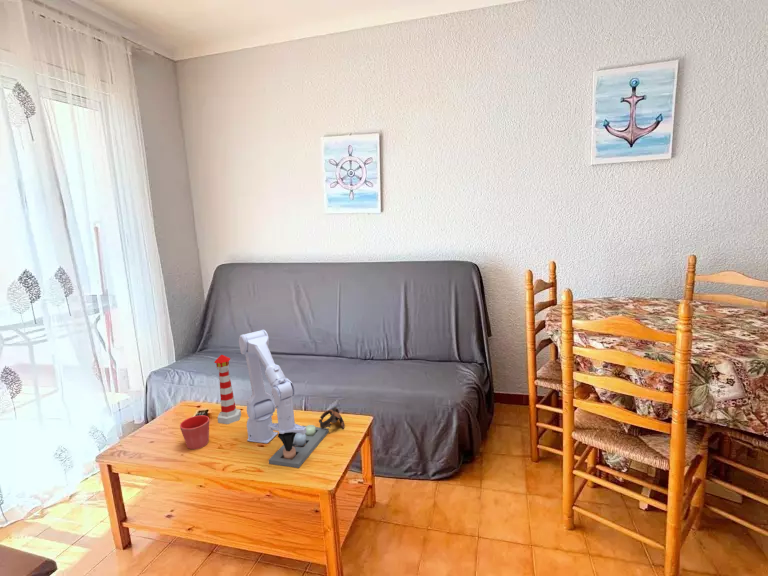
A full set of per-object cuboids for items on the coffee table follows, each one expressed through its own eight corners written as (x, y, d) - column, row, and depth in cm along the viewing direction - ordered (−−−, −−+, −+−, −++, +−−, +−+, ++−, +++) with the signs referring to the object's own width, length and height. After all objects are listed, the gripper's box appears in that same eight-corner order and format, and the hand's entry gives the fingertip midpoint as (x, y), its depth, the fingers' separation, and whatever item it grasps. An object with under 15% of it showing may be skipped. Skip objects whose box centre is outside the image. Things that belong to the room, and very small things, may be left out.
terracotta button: (281, 460, 150) (280, 452, 149) (287, 453, 154) (286, 445, 153) (292, 461, 148) (291, 453, 148) (298, 455, 152) (297, 447, 152)
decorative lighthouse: (245, 415, 187) (238, 351, 182) (232, 425, 179) (223, 358, 174) (227, 412, 191) (219, 350, 185) (213, 422, 182) (204, 356, 177)
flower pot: (180, 454, 158) (176, 430, 157) (186, 439, 169) (183, 417, 167) (209, 449, 161) (206, 426, 159) (214, 435, 171) (211, 413, 169)
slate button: (292, 445, 157) (291, 438, 156) (298, 439, 161) (297, 432, 160) (302, 447, 156) (302, 439, 155) (308, 441, 160) (307, 433, 159)
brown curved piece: (344, 433, 167) (333, 419, 165) (325, 441, 170) (314, 428, 167) (348, 413, 178) (338, 399, 175) (330, 421, 181) (319, 407, 178)
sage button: (302, 437, 165) (302, 429, 164) (308, 431, 169) (307, 424, 168) (312, 438, 163) (312, 431, 163) (317, 432, 167) (317, 425, 167)
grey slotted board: (268, 463, 149) (268, 459, 148) (302, 428, 172) (302, 425, 172) (298, 468, 145) (298, 464, 145) (328, 431, 168) (328, 428, 168)
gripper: (261, 418, 147) (265, 453, 149) (298, 422, 142) (301, 458, 144) (272, 409, 153) (276, 443, 155) (307, 412, 149) (311, 447, 151)
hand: (289, 449), depth 150 cm, fingers closed, pressing on terracotta button
